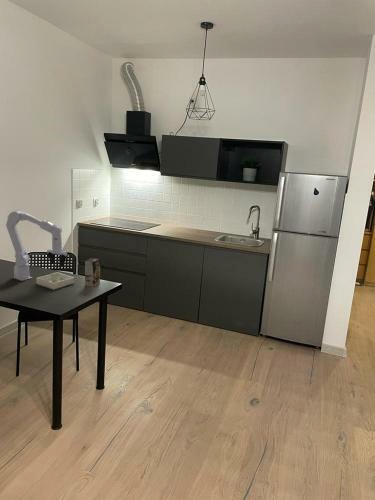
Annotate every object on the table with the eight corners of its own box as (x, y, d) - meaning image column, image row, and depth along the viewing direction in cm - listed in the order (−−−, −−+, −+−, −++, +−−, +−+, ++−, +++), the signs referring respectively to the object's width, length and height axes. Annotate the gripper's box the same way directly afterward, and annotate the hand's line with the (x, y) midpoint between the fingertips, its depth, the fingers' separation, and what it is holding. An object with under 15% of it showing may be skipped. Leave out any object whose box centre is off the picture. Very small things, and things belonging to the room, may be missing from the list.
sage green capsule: (49, 282, 229) (49, 273, 228) (56, 281, 233) (56, 272, 232) (54, 284, 226) (54, 275, 225) (61, 282, 230) (61, 273, 229)
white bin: (36, 283, 228) (36, 277, 227) (57, 278, 241) (57, 272, 240) (53, 289, 220) (53, 283, 219) (74, 283, 233) (74, 277, 232)
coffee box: (94, 286, 229) (94, 262, 225) (84, 285, 230) (84, 261, 226) (100, 282, 238) (100, 258, 234) (91, 281, 239) (91, 257, 235)
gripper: (43, 244, 233) (44, 264, 236) (61, 247, 228) (62, 268, 231) (51, 242, 239) (51, 262, 243) (69, 245, 234) (69, 265, 238)
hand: (57, 265), depth 237 cm, fingers open, 7 cm apart
